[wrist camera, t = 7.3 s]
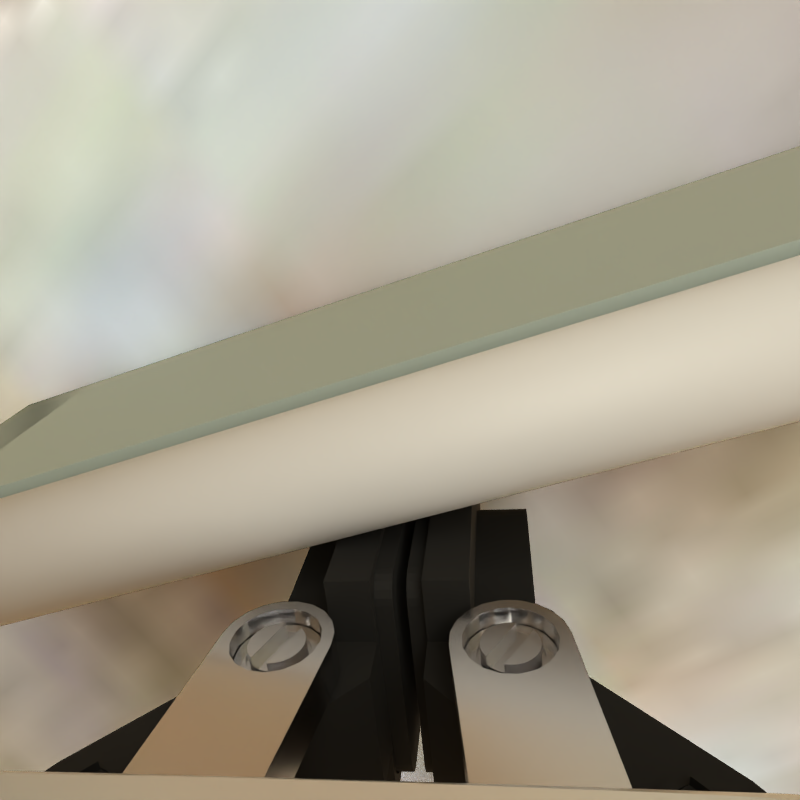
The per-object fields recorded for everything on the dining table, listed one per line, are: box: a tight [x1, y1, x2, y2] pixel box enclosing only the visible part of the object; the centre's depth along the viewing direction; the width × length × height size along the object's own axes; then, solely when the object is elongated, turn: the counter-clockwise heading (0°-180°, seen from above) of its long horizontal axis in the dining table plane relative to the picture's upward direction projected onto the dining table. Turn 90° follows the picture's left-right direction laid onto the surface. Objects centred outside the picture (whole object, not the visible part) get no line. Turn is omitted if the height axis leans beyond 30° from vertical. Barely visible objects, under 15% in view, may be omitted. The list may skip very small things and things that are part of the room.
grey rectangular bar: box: [0, 146, 800, 626], centre depth 11 cm, size 18×2×7 cm, turn 110°
